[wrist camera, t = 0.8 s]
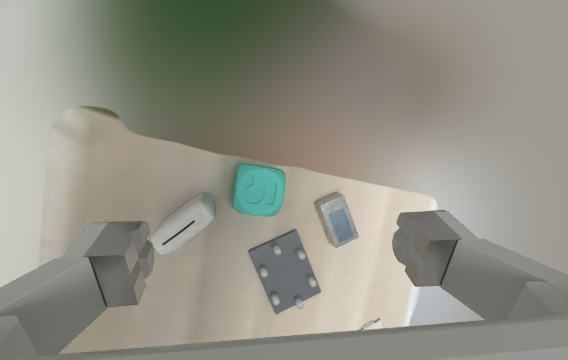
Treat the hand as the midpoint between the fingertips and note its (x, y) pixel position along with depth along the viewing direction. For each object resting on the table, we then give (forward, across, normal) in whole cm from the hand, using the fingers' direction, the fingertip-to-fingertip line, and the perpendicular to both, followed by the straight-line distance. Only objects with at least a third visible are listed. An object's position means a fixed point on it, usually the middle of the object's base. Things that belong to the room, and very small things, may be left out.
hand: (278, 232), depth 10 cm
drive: (+41, +15, -28) cm, 52 cm away
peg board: (+36, +6, -37) cm, 52 cm away
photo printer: (+39, -12, -25) cm, 48 cm away
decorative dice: (+42, 0, -21) cm, 47 cm away
